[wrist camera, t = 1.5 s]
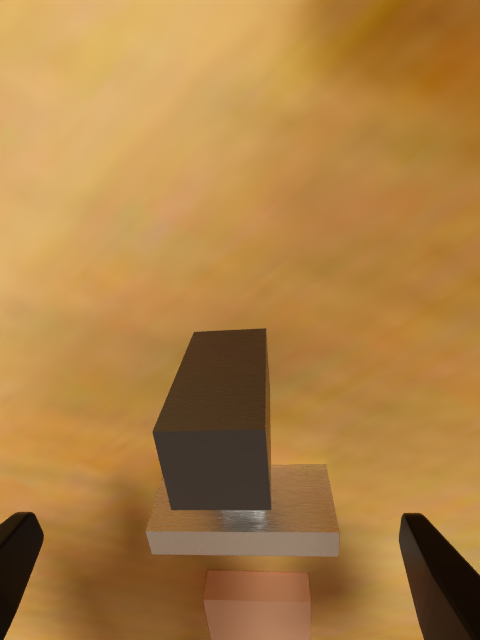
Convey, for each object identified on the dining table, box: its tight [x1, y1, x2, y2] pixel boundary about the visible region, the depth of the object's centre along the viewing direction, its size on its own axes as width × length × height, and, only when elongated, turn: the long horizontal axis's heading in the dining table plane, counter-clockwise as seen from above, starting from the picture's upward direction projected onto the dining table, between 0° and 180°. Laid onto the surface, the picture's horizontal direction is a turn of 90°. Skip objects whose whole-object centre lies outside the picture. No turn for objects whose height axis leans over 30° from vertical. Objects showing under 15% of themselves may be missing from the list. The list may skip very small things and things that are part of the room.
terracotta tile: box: [203, 570, 311, 640], centre depth 22 cm, size 6×6×2 cm
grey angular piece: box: [145, 329, 339, 557], centre depth 14 cm, size 8×9×6 cm
